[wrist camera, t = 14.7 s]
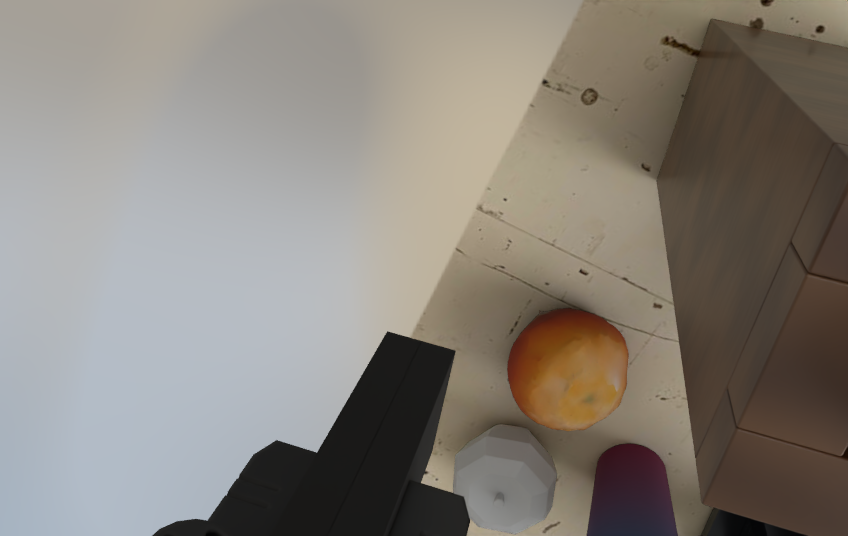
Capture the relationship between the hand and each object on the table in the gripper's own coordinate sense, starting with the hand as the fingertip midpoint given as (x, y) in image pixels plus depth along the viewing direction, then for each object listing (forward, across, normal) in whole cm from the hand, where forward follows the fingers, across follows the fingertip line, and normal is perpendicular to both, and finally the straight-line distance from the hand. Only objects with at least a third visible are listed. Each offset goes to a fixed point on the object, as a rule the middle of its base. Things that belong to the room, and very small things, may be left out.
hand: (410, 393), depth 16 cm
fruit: (+35, +6, -17) cm, 39 cm away
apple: (+35, +4, -27) cm, 44 cm away
